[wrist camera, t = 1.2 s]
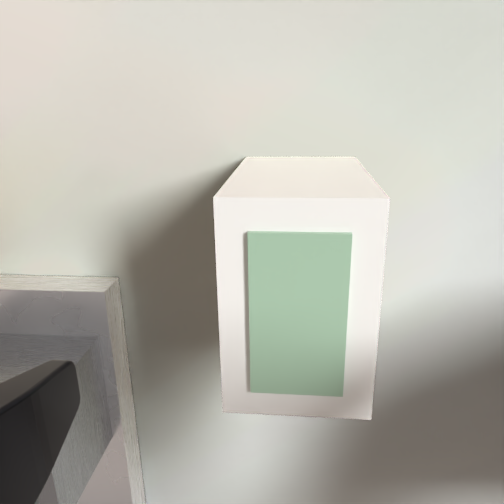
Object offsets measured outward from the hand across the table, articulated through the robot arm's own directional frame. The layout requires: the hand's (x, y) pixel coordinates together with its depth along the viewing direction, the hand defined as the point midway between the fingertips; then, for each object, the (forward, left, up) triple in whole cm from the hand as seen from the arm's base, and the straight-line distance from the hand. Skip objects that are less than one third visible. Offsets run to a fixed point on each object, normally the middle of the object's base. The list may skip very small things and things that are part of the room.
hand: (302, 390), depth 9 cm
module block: (0, 0, -10) cm, 10 cm away
